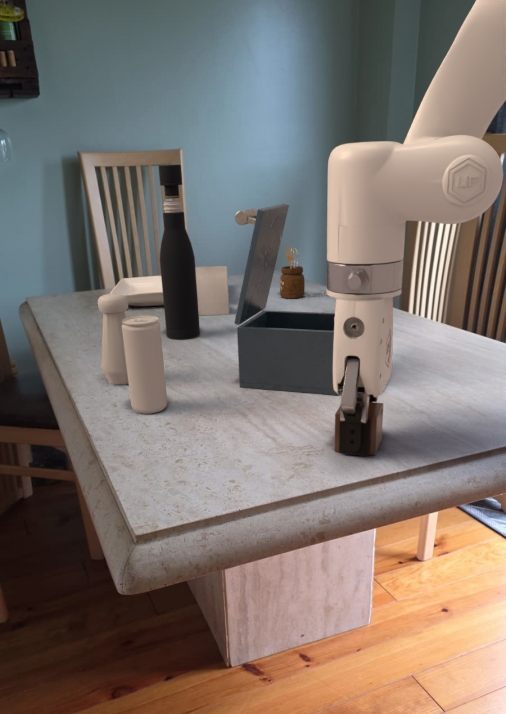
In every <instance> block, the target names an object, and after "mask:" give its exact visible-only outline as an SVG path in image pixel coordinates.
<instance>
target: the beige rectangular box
mask: <svg viewBox="0 0 506 714" xmlns="http://www.w3.org/2000/svg"><path fill="white" fill-rule="evenodd" d="M195 269H196V284H197V298H198V312H199V316H223V315H224V316H225V315H230V296H229V295H230V294H229V279H228V266H227V265H217V266H216V265H215V266H195Z"/></svg>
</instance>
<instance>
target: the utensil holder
mask: <svg viewBox="0 0 506 714" xmlns="http://www.w3.org/2000/svg"><path fill="white" fill-rule="evenodd" d="M285 248H286V260H287V261H288V262H289V265H285V266H282V267H281V271H280V272H281V275H280V278H279V289H280V290H279V294H280V297H281V298H283V299H286V300H287V299H288V300H289V299H290V300H292V299H293V300H295V299H301V298H303V297H305V285H306V284H305V275H304V274H303V272H304V268H303V266H301V265H298V264H296V263H299V261H300V259H297V260H295V256H294V254H295V253H297V254H300V252H299V251H298V249H296V248H294V247H293V246H291V247H285ZM294 260H295V262H294ZM292 264H293V265H292Z"/></svg>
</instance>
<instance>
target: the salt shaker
mask: <svg viewBox="0 0 506 714" xmlns="http://www.w3.org/2000/svg"><path fill="white" fill-rule="evenodd" d="M97 308H98V311H99V312H100V313H102V333H101V334H102V335H101V337H102V338H101V342H102V343H101V363H100V365H101V371H102V373H103V374H104V376H105V377H106V380H107V381H108V383H110V384H112V385H114V386H115V385H129V382H128V374H127V365H126V357H125V349H124V341H123V332H122V325H123V323H122V321H123V320H124V319H126V318H127V316H126V314H125V313H126V311H127V310H128V309H129V304H128V300H127V298H126V297H125V296H124V295H122V294H110V293H106V294H103V295H100V296H99V298H98V299H97Z"/></svg>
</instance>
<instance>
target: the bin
mask: <svg viewBox="0 0 506 714" xmlns="http://www.w3.org/2000/svg"><path fill="white" fill-rule="evenodd" d="M334 317H335V312H318V311H317V312H316V311H315V312H314V311H290V310H289V311H288V310H287V311H286V310H265V309H263V310H262V311H260V312H258V313H257V314H255V315H254V316H252V317H251V318H249V319H248V320H246V321H245V322H243V323H241V324H240V325H238V326H237V327H236V330H237V331H236V336H237V337H236V338H237V357H238V358H237V359H238V378H239V379H238V380H239V388H244V389H256V390H269V391H282V392H294V393H307V394H318V395H330V396H339V395H340V394H337V393H336V392H335V390H334V388H333V342H334V322H335V321H334Z"/></svg>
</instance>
